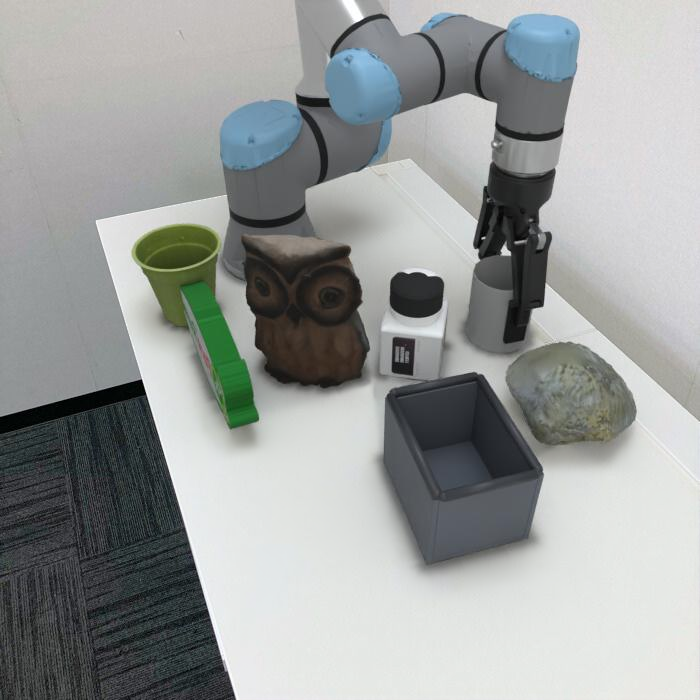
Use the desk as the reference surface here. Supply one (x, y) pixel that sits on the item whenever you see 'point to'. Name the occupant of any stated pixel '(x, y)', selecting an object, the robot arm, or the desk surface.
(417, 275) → the container
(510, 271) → the cup
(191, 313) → the sign
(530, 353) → the decorative stone
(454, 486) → the basket
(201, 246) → the plant pot
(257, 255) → the owl
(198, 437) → the desk surface
